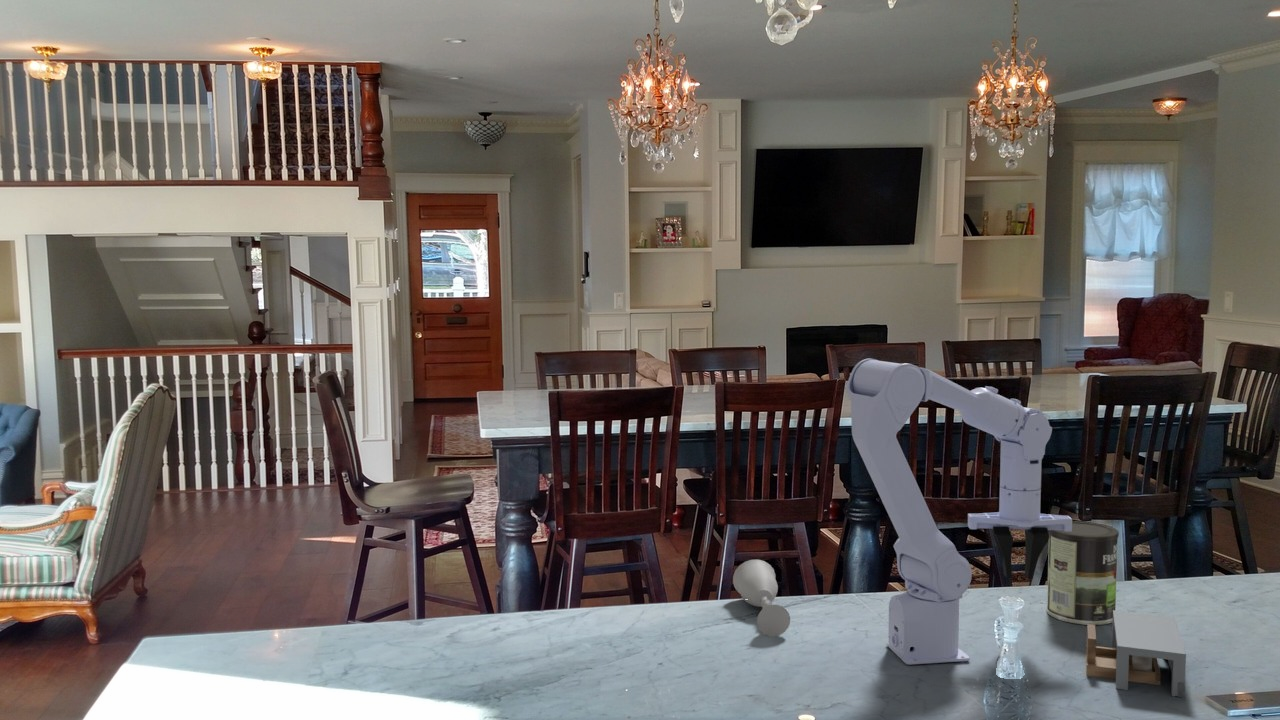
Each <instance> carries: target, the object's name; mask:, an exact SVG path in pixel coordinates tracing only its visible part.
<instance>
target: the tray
mask: <svg viewBox="0 0 1280 720" xmlns="http://www.w3.org/2000/svg"><path fill="white" fill-rule="evenodd" d="M1086 627H1087V628H1086V644H1085V671H1086V676H1087V677H1088V676H1089V677H1096V678H1104V679H1111V680H1116V659H1117V649H1116V648H1112V647H1107V646H1106V647H1105V646H1097V635H1096V634H1097V633H1096V625H1090V624H1087V625H1086ZM1161 676H1162V675H1161V670H1160V667H1159V662H1158V658H1151V657H1143V656H1135V655H1129V671H1128V682H1133V683H1141V684H1149V685H1157V686H1161Z"/></svg>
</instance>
